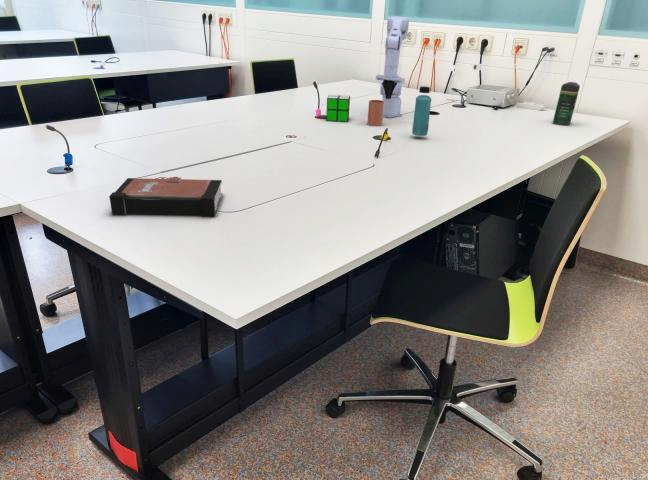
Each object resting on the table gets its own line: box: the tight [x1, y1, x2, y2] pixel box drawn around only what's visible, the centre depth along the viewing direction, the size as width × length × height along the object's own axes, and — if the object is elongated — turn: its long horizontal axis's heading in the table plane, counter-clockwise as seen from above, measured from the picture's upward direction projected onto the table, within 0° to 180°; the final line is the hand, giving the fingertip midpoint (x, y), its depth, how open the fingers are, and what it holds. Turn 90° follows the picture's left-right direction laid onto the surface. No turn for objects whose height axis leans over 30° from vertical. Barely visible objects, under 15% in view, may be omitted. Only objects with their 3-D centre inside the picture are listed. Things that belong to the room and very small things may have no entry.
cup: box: [366, 99, 384, 127], centre depth 243 cm, size 7×7×10 cm
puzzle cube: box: [325, 94, 351, 123], centre depth 250 cm, size 10×10×10 cm
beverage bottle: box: [411, 86, 432, 137], centre depth 220 cm, size 6×7×20 cm
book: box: [108, 176, 224, 218], centre depth 146 cm, size 26×18×5 cm
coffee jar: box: [552, 81, 581, 126], centre depth 256 cm, size 10×8×19 cm
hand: (388, 98), depth 245 cm, fingers closed
